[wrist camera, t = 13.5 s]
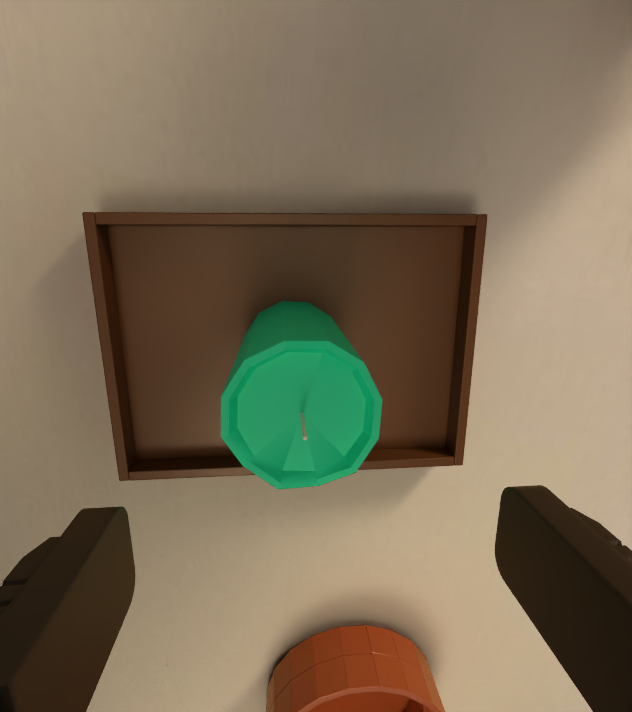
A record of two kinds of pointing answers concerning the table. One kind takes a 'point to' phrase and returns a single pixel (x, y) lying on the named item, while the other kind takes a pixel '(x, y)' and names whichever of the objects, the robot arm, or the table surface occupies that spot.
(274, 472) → the candle
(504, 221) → the table surface
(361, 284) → the tray
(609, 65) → the table surface
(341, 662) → the bowl
